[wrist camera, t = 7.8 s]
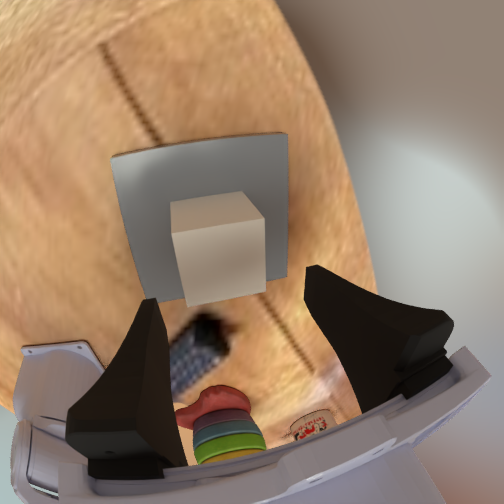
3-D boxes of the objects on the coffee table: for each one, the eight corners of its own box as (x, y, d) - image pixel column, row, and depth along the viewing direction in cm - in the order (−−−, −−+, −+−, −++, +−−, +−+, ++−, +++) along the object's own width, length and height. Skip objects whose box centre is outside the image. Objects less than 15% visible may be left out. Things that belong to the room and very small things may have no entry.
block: (181, 264, 21) (187, 307, 16) (170, 202, 18) (171, 233, 14) (245, 252, 22) (265, 291, 18) (242, 191, 19) (264, 218, 15)
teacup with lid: (319, 405, 43) (346, 456, 34) (337, 411, 48) (361, 455, 39) (267, 435, 45) (287, 485, 35) (290, 439, 50) (309, 482, 40)
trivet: (148, 295, 23) (148, 304, 22) (113, 155, 16) (110, 158, 15) (282, 269, 25) (286, 276, 24) (281, 132, 19) (287, 134, 18)
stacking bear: (214, 381, 31) (255, 517, 16) (267, 397, 36) (311, 503, 22) (166, 415, 33) (188, 530, 18) (218, 428, 38) (248, 523, 23)
